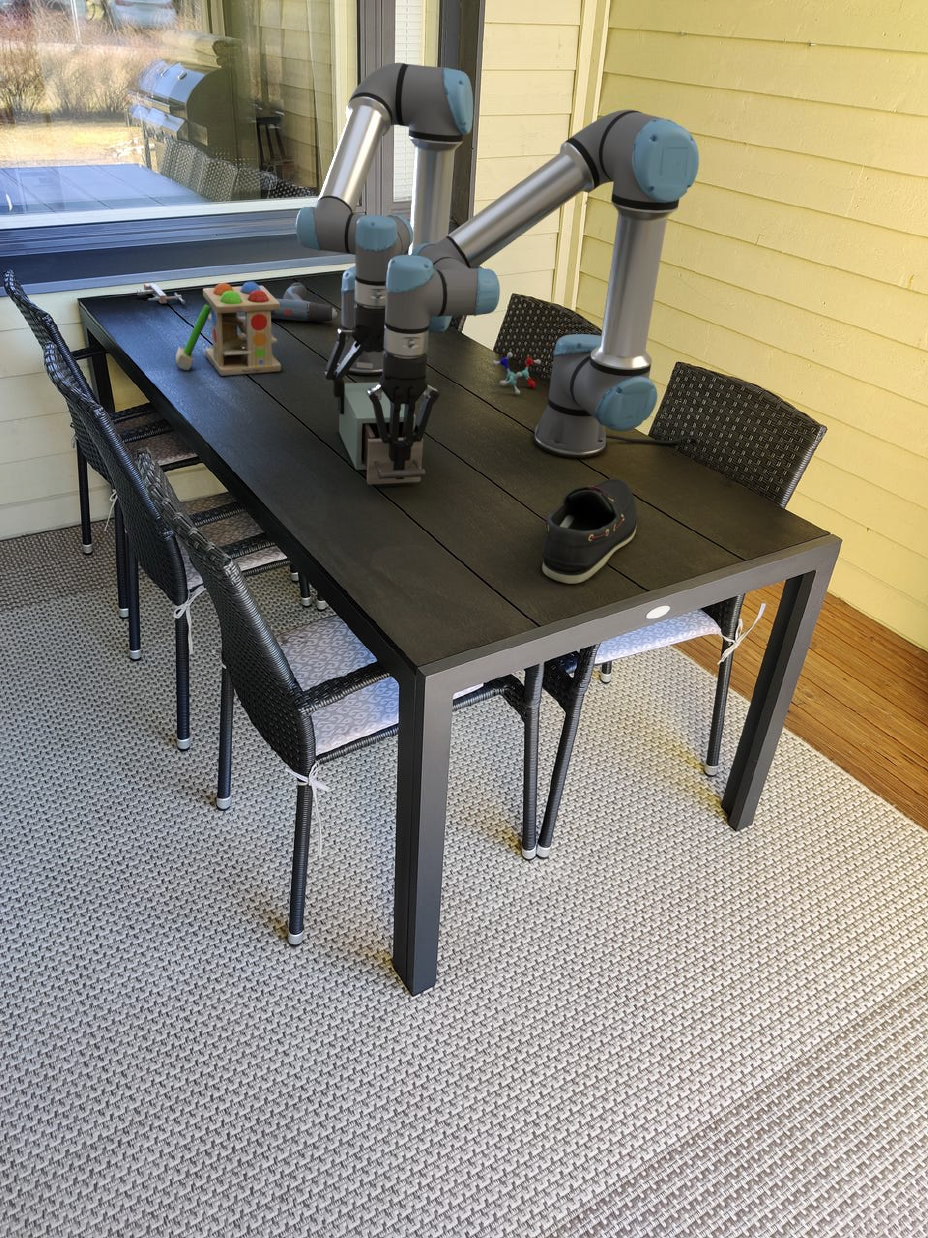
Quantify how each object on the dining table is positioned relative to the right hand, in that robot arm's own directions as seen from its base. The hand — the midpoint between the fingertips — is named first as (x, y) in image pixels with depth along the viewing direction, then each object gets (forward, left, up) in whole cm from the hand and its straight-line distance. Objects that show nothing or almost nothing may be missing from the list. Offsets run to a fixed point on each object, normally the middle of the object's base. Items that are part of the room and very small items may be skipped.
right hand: (398, 475), depth 181 cm
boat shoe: (-31, +21, -4) cm, 37 cm away
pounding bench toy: (+28, -68, -4) cm, 74 cm away
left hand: (+1, -25, +2) cm, 25 cm away
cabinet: (+1, -20, -4) cm, 20 cm away
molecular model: (-38, -52, -4) cm, 64 cm away
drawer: (0, -8, -3) cm, 9 cm away
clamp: (+43, -118, -4) cm, 126 cm away
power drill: (+5, -107, -4) cm, 108 cm away
